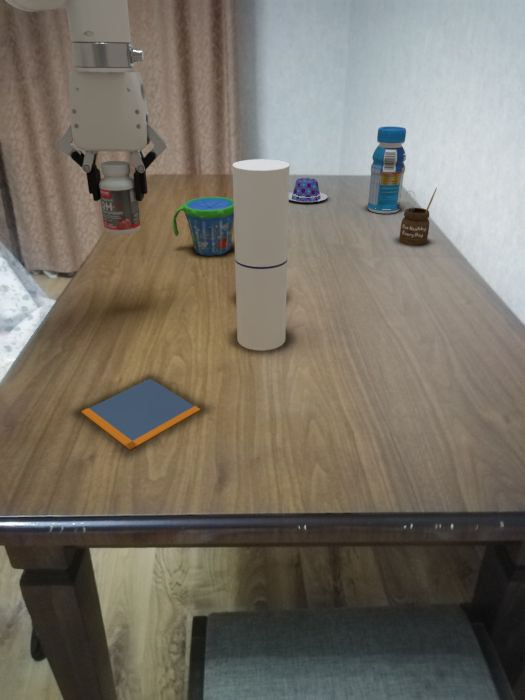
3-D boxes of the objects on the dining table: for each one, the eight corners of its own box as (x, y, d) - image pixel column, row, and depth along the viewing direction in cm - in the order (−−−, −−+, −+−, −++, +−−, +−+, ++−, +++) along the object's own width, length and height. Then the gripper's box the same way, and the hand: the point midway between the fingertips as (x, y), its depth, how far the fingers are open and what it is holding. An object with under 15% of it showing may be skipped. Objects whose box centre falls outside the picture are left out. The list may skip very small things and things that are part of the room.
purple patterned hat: (306, 207, 143) (307, 187, 141) (275, 198, 151) (275, 179, 148) (336, 199, 150) (337, 180, 148) (305, 191, 158) (305, 173, 155)
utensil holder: (400, 236, 121) (407, 182, 115) (429, 239, 120) (437, 184, 114) (397, 245, 117) (404, 188, 111) (426, 248, 115) (435, 191, 109)
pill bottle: (99, 234, 79) (90, 166, 74) (111, 224, 84) (103, 159, 79) (135, 236, 79) (128, 167, 74) (145, 225, 84) (139, 160, 79)
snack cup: (169, 258, 110) (164, 208, 105) (183, 241, 119) (179, 195, 114) (244, 262, 108) (243, 211, 103) (253, 245, 117) (252, 197, 112)
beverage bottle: (360, 209, 141) (367, 128, 131) (380, 204, 146) (388, 124, 136) (386, 216, 136) (396, 131, 126) (406, 210, 140) (417, 128, 130)
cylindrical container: (230, 347, 78) (224, 168, 65) (246, 325, 84) (243, 157, 71) (278, 354, 76) (280, 172, 63) (290, 331, 82) (295, 160, 69)
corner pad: (81, 413, 64) (81, 411, 64) (150, 380, 70) (149, 377, 70) (130, 452, 58) (130, 449, 58) (200, 411, 64) (200, 409, 64)
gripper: (172, 59, 74) (180, 193, 83) (45, 57, 73) (67, 192, 82) (166, 60, 67) (175, 205, 76) (26, 58, 67) (52, 205, 76)
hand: (119, 197), depth 79 cm, fingers closed on pill bottle, 5 cm apart
